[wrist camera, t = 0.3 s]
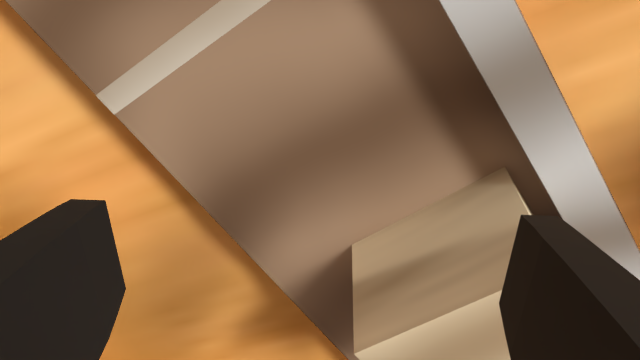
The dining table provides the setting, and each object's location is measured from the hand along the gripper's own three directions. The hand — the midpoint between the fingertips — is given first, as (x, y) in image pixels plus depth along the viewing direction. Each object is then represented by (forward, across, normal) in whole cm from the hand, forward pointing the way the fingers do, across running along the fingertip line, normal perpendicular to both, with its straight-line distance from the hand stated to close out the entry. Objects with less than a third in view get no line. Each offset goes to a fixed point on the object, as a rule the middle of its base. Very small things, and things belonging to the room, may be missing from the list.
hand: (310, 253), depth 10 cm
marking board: (+10, -1, +2) cm, 10 cm away
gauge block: (+8, -5, +6) cm, 11 cm away
